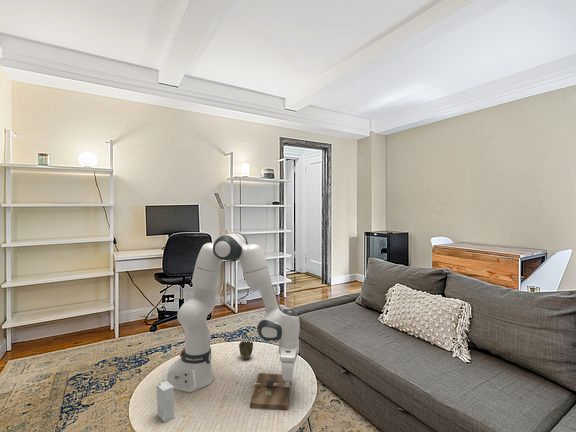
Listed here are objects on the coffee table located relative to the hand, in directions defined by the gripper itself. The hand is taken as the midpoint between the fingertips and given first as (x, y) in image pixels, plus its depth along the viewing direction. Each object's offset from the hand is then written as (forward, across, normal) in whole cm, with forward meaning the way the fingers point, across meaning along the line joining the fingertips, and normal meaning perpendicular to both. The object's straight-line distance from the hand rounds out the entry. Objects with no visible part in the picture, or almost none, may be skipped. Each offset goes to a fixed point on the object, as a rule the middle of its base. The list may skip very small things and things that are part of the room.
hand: (288, 379), depth 134 cm
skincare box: (+6, +20, -45) cm, 50 cm away
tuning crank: (+3, 0, -7) cm, 8 cm away
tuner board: (+6, +1, -7) cm, 9 cm away
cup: (+6, -27, -24) cm, 37 cm away
